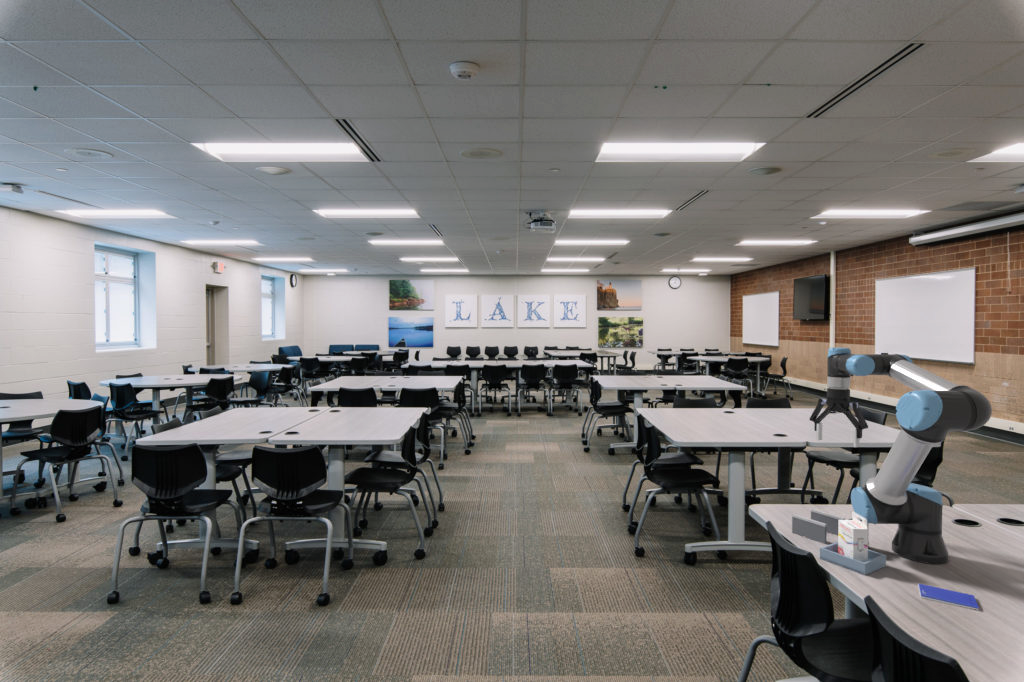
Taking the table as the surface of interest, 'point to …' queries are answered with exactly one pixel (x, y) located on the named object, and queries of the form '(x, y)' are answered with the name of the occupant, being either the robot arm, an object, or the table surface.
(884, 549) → the table surface
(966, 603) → the hard drive
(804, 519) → the pair of grey slabs
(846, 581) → the table surface
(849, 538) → the ink cartridge box
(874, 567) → the tray
